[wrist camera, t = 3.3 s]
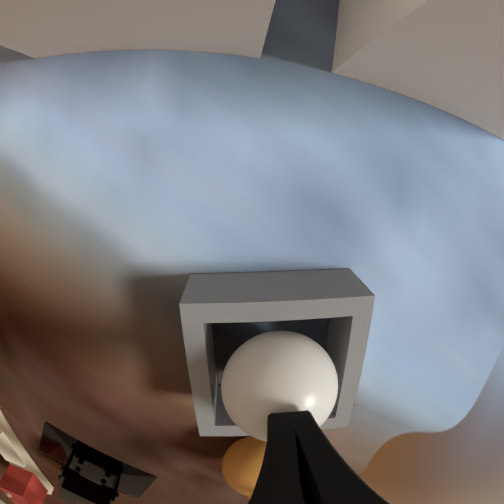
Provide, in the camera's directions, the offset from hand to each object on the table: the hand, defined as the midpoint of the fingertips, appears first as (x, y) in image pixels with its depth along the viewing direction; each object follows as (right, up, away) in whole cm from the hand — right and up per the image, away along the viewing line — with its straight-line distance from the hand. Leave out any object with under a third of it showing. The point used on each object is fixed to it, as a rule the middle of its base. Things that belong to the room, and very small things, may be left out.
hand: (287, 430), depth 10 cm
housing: (0, +2, +6) cm, 6 cm away
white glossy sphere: (0, +1, +5) cm, 5 cm away
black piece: (-14, -11, +10) cm, 20 cm away
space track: (-23, -8, +8) cm, 25 cm away
